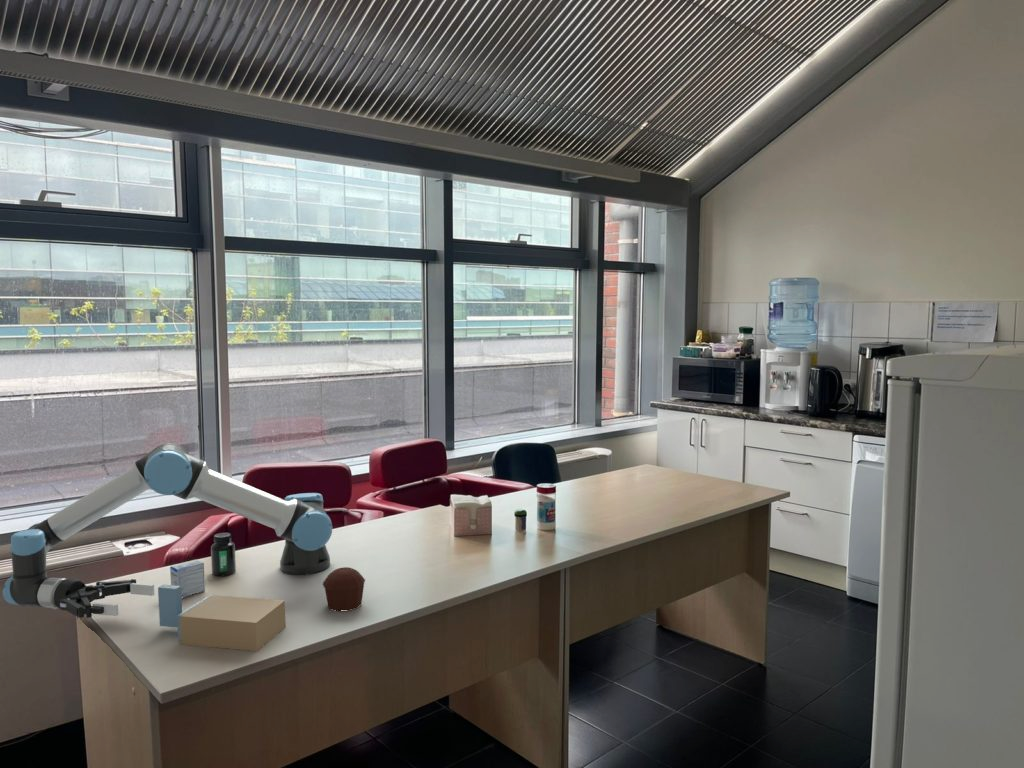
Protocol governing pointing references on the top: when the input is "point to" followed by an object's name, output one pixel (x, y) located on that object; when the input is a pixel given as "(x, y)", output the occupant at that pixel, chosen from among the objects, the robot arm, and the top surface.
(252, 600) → the drawer cabinet
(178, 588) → the blue-handled drawer
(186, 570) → the medicine box
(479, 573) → the top surface
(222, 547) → the supplement bottle
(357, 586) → the muffin
